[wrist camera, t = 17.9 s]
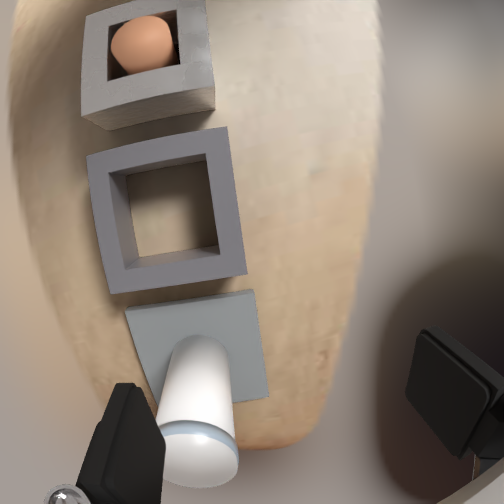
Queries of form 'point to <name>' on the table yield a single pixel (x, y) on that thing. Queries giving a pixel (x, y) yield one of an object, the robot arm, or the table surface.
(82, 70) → the frame
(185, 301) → the slate mat
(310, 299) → the table surface
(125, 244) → the frame
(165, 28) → the release button
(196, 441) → the cylinder
